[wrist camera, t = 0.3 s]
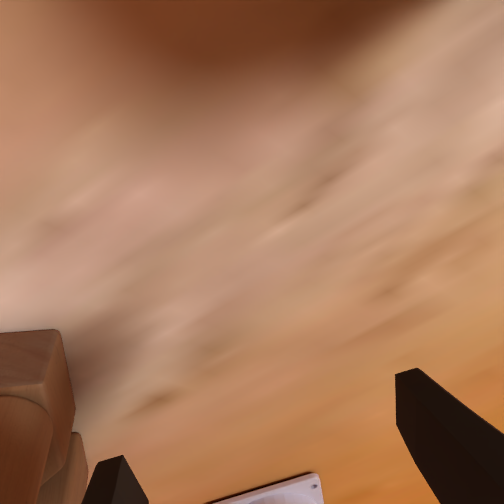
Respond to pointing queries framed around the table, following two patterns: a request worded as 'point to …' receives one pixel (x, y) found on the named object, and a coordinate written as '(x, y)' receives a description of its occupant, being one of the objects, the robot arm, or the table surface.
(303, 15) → the table surface
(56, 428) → the wooden block
